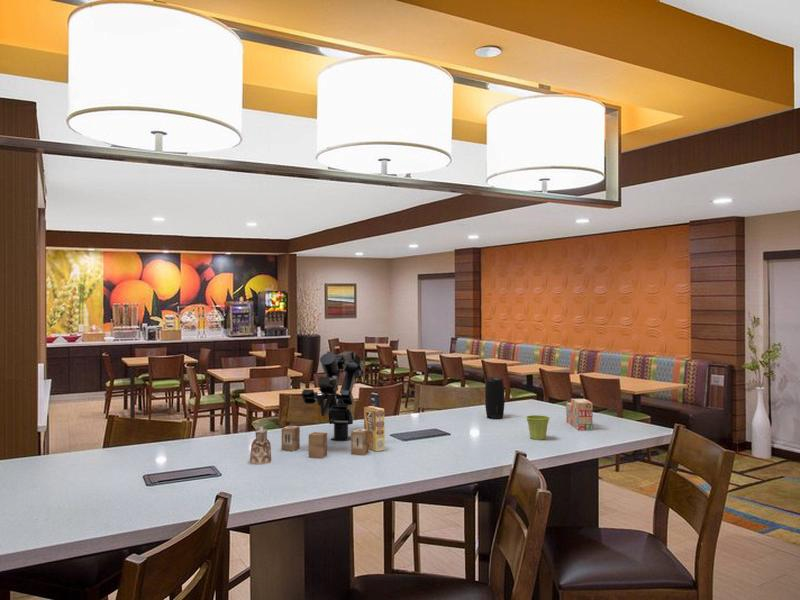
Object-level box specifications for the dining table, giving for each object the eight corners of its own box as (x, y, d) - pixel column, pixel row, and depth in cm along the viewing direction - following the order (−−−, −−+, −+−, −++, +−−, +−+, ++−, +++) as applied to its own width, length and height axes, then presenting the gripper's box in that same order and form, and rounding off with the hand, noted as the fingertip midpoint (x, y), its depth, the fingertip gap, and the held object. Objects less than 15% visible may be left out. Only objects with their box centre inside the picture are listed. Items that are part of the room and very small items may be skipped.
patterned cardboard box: (566, 422, 279) (565, 395, 279) (579, 422, 279) (579, 395, 279) (578, 430, 258) (578, 402, 258) (593, 431, 257) (592, 402, 258)
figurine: (249, 464, 198) (250, 428, 198) (249, 459, 205) (249, 424, 205) (271, 463, 200) (272, 427, 200) (270, 458, 207) (270, 423, 207)
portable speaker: (487, 416, 295) (487, 376, 295) (506, 417, 292) (505, 377, 292) (483, 418, 287) (483, 378, 287) (503, 420, 284) (503, 378, 284)
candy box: (385, 450, 219) (385, 408, 220) (375, 451, 217) (375, 409, 217) (373, 446, 227) (373, 405, 227) (363, 447, 224) (363, 406, 225)
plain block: (314, 454, 213) (314, 431, 213) (327, 455, 212) (327, 432, 212) (308, 457, 208) (308, 434, 208) (321, 458, 207) (322, 435, 207)
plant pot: (548, 441, 235) (548, 419, 235) (524, 440, 238) (524, 418, 238) (550, 437, 244) (550, 415, 244) (527, 435, 247) (527, 414, 247)
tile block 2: (355, 451, 218) (355, 428, 218) (368, 452, 217) (368, 429, 217) (350, 454, 213) (350, 431, 213) (364, 455, 211) (364, 431, 212)
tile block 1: (287, 447, 224) (287, 425, 224) (299, 448, 223) (299, 425, 223) (281, 450, 219) (281, 427, 219) (293, 451, 218) (293, 428, 218)
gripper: (303, 367, 223) (292, 401, 212) (351, 368, 220) (343, 402, 209) (309, 386, 231) (300, 419, 220) (356, 387, 228) (349, 421, 216)
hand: (322, 415), depth 216 cm, fingers closed
